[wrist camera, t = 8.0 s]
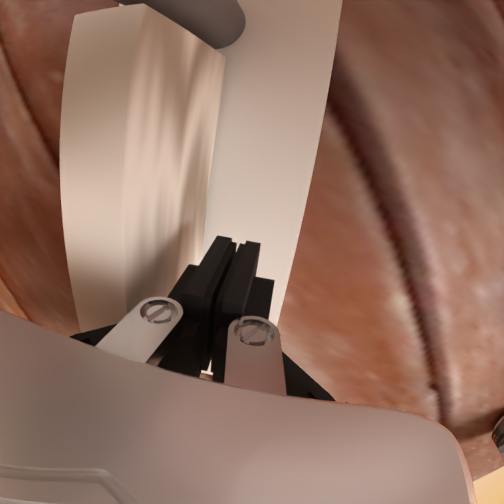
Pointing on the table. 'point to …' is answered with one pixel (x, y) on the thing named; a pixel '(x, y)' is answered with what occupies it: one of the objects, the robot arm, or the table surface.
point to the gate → (134, 157)
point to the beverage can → (499, 436)
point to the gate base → (263, 118)
